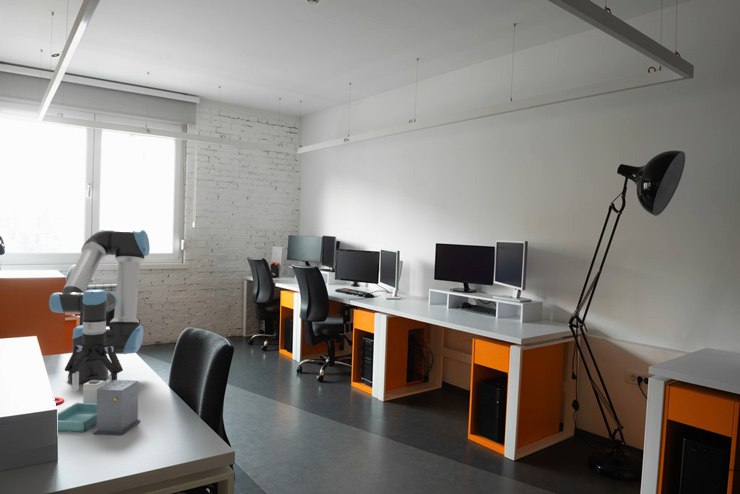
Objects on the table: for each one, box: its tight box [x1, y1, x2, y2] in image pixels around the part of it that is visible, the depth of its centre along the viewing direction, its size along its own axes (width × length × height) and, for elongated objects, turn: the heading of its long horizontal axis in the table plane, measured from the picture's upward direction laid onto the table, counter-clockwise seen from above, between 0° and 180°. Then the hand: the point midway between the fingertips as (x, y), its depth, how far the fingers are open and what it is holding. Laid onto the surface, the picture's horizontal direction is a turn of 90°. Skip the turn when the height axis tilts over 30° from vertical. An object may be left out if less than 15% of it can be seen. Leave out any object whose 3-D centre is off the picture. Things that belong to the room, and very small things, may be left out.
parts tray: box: [57, 402, 97, 433], centre depth 170 cm, size 17×13×3 cm
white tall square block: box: [82, 380, 106, 403], centre depth 187 cm, size 5×5×9 cm
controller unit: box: [93, 379, 141, 436], centre depth 165 cm, size 11×9×14 cm
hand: (93, 391), depth 186 cm, fingers open, 13 cm apart
